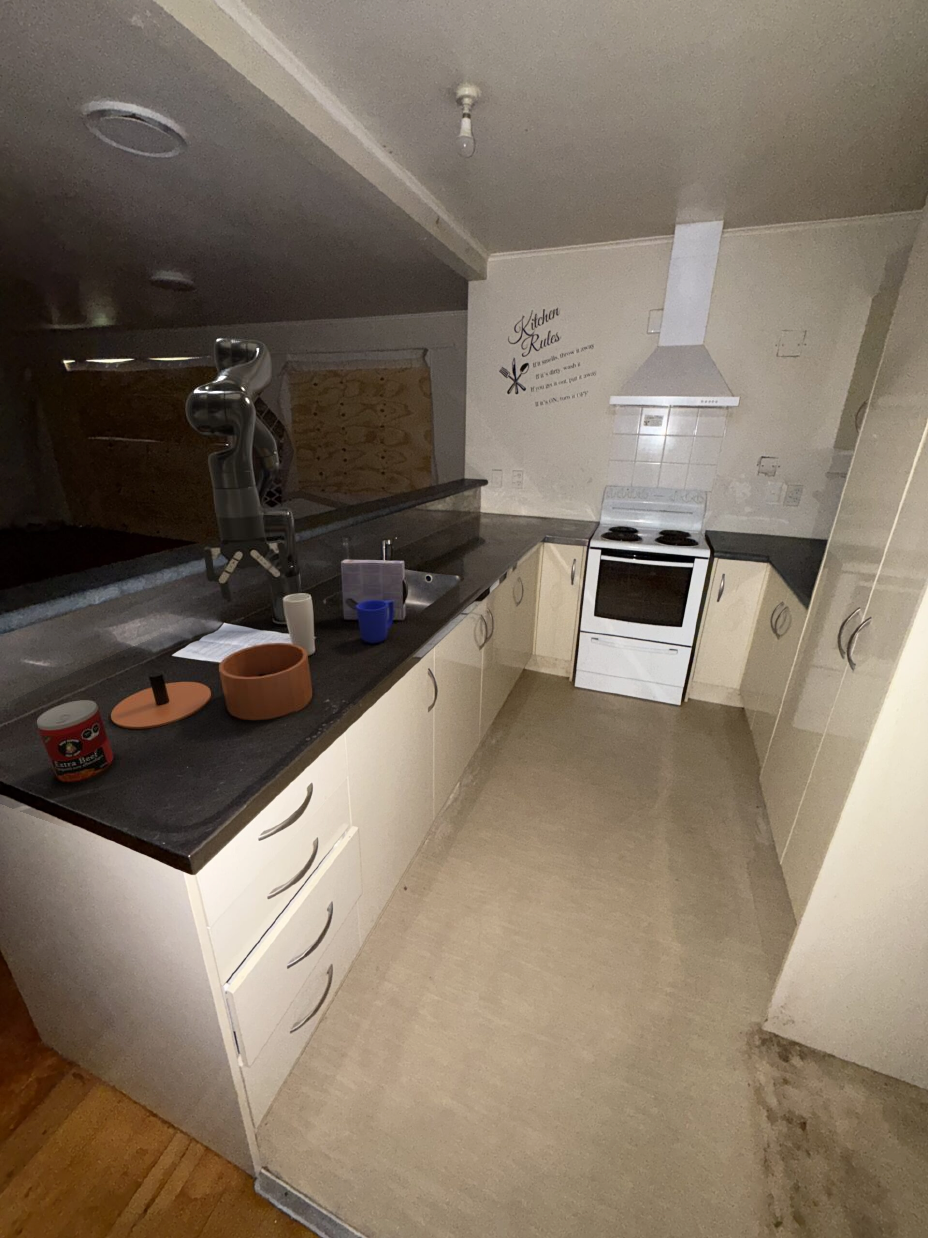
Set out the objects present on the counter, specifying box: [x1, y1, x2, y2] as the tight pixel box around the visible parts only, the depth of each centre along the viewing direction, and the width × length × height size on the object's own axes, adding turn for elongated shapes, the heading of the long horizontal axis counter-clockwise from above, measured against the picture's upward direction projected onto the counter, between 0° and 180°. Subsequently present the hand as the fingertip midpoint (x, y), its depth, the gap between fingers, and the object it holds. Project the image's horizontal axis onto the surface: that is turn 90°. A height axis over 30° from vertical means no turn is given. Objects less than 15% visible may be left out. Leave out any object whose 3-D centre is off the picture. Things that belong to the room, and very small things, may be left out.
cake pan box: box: [340, 559, 409, 621], centre depth 143 cm, size 19×5×18 cm, turn 89°
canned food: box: [36, 699, 114, 783], centre depth 79 cm, size 8×8×11 cm
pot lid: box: [110, 671, 212, 730], centre depth 98 cm, size 18×18×8 cm
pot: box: [218, 642, 313, 721], centre depth 100 cm, size 17×17×10 cm
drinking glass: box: [283, 592, 316, 657], centre depth 120 cm, size 7×7×15 cm
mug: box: [356, 600, 394, 644], centre depth 131 cm, size 8×12×10 cm
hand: (253, 597), depth 93 cm, fingers open, 8 cm apart
